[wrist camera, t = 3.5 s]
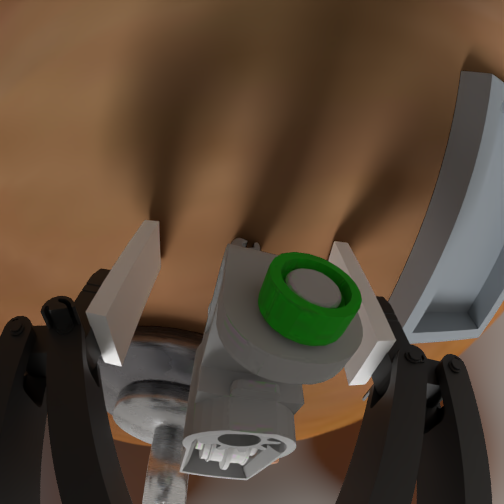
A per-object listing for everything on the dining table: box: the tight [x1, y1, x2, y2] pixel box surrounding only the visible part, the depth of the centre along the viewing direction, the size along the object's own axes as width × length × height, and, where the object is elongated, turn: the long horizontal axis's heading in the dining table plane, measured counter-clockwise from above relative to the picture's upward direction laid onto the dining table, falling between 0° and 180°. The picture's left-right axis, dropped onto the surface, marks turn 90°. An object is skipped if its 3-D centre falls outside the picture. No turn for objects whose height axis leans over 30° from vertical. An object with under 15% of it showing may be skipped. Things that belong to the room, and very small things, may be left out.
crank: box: [113, 383, 190, 504], centre depth 17 cm, size 15×10×11 cm, turn 173°
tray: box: [388, 71, 504, 344], centre depth 12 cm, size 16×9×2 cm, turn 173°
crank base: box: [97, 326, 279, 464], centre depth 20 cm, size 17×17×6 cm
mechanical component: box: [179, 238, 363, 480], centre depth 10 cm, size 3×10×10 cm, turn 165°
